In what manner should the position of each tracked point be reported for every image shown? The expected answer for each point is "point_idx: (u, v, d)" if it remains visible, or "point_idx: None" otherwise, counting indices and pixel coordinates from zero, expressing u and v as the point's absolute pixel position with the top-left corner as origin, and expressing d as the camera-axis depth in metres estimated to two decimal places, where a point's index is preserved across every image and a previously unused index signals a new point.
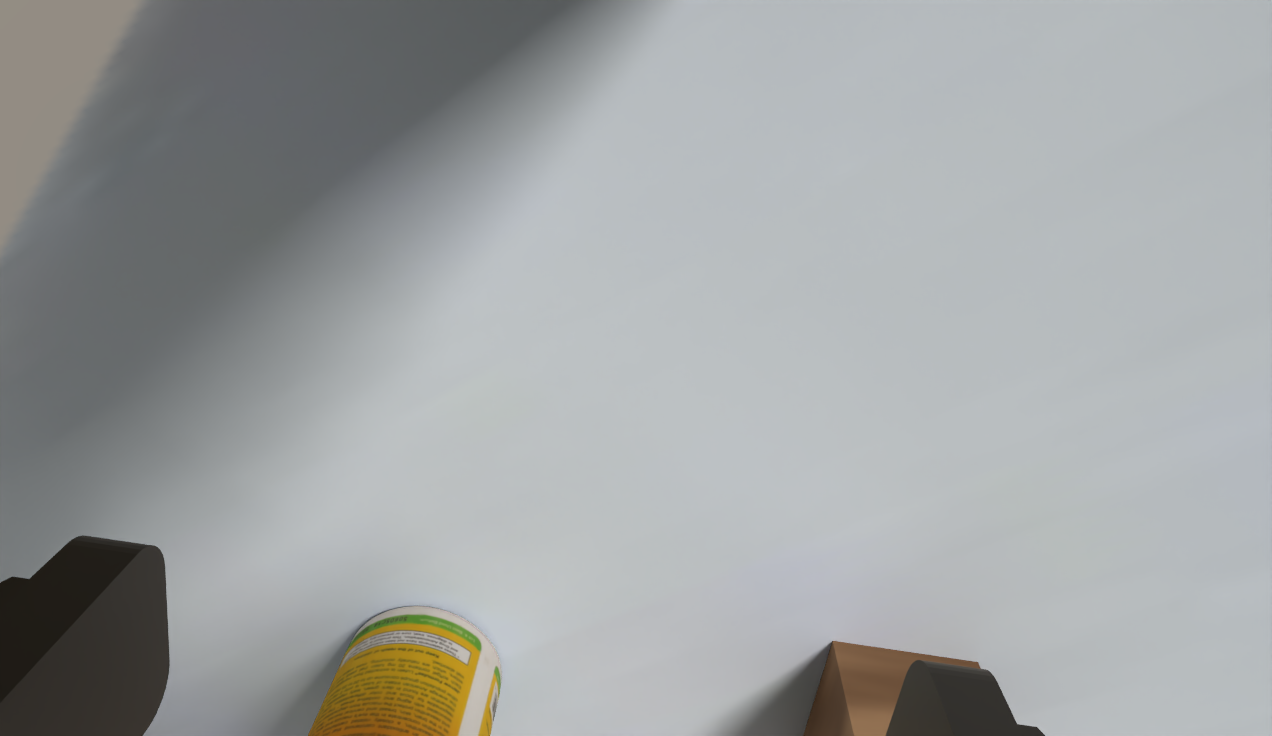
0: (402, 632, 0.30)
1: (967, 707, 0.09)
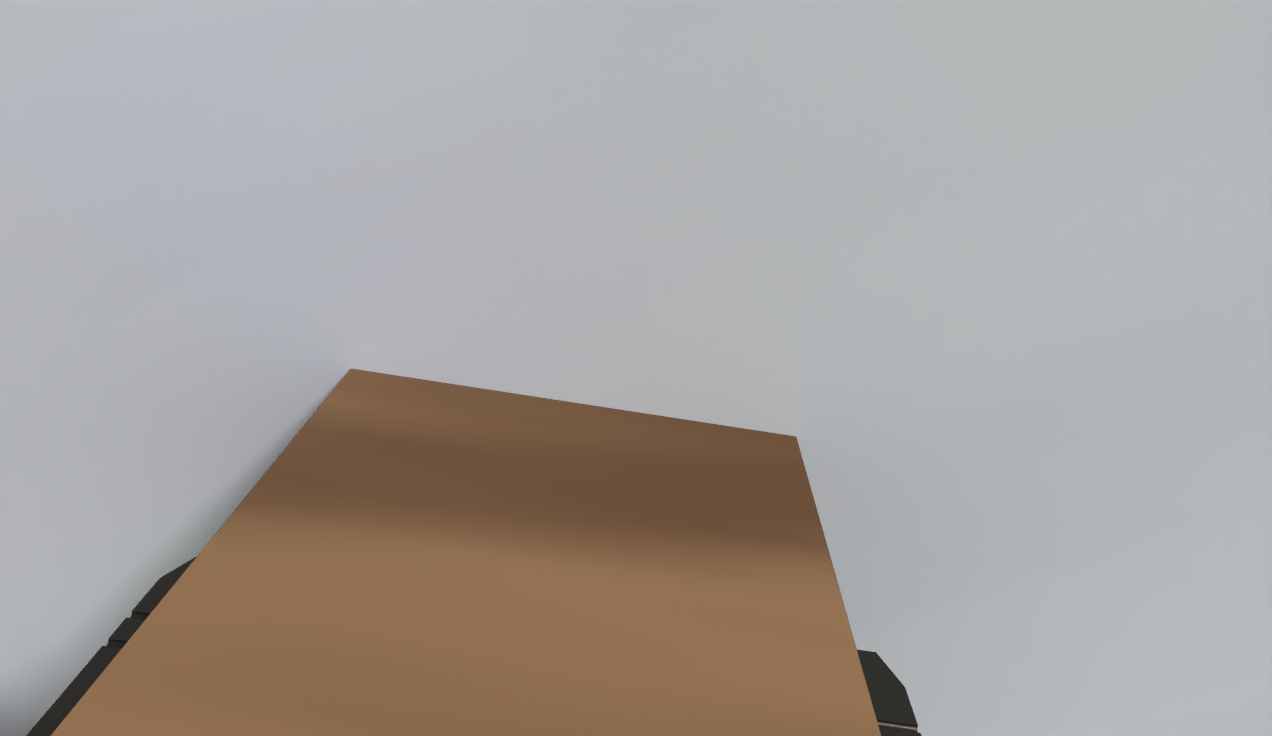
0: None
1: None
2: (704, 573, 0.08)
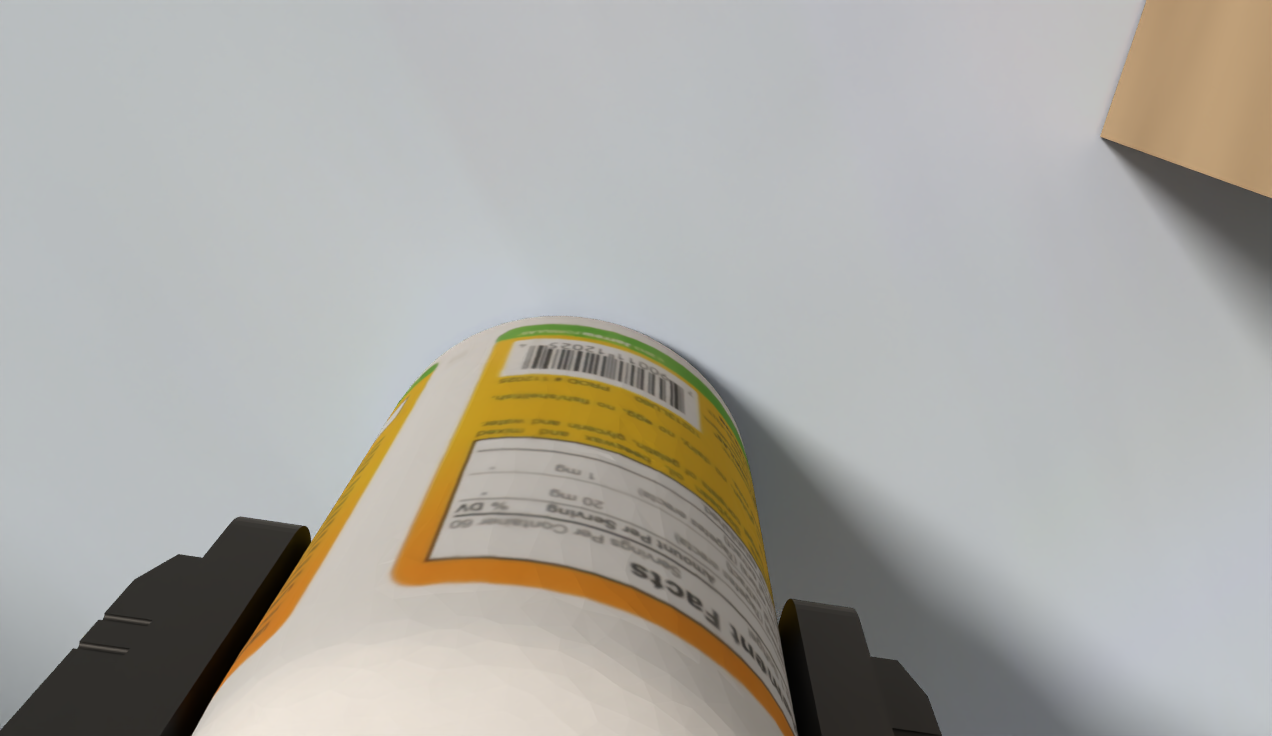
0: None
1: (825, 638, 0.10)
2: None
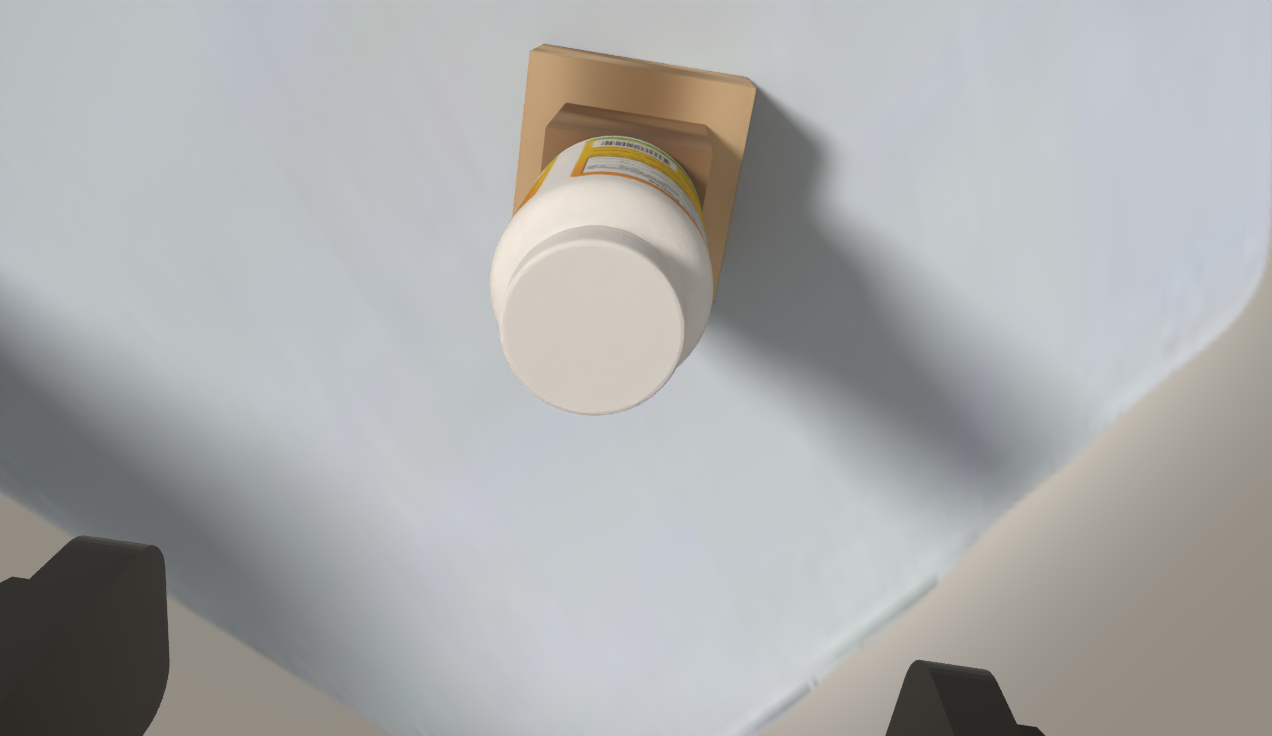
0: None
1: (967, 707, 0.09)
2: None
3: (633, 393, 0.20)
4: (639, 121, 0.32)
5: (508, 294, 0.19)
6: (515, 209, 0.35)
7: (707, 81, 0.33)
